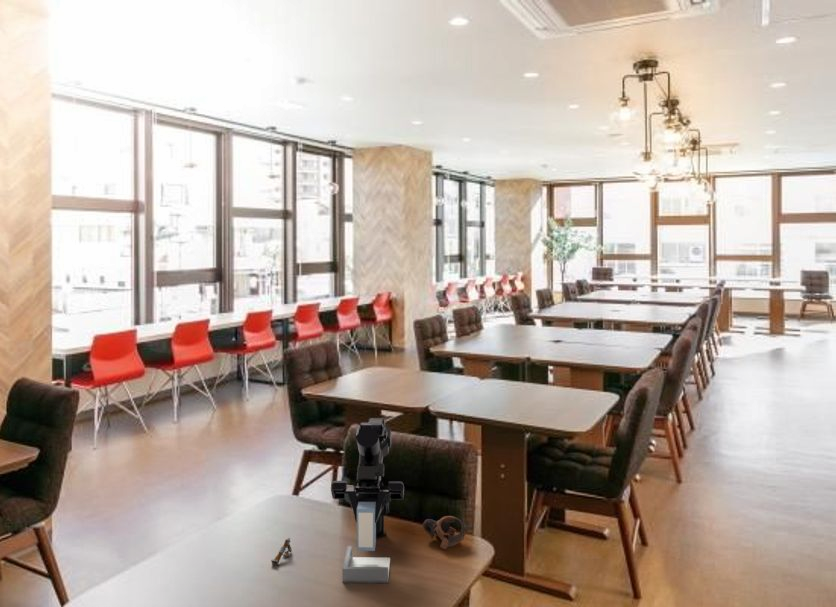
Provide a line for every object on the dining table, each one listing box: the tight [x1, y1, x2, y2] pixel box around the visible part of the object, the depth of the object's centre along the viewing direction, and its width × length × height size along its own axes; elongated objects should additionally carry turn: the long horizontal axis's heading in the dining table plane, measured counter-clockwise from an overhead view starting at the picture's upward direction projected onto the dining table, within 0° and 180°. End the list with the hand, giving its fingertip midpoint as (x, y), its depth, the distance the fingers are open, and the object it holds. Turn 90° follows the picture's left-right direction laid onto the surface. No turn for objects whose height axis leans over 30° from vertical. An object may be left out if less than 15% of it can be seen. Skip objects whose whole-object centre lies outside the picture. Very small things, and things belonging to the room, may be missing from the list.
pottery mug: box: [422, 515, 467, 550], centre depth 183 cm, size 12×10×8 cm
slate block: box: [356, 502, 377, 552], centre depth 170 cm, size 5×4×11 cm
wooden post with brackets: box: [270, 537, 293, 566], centre depth 173 cm, size 2×8×4 cm, turn 160°
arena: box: [342, 545, 391, 584], centre depth 167 cm, size 12×11×4 cm
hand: (366, 522), depth 169 cm, fingers closed on slate block, 4 cm apart
